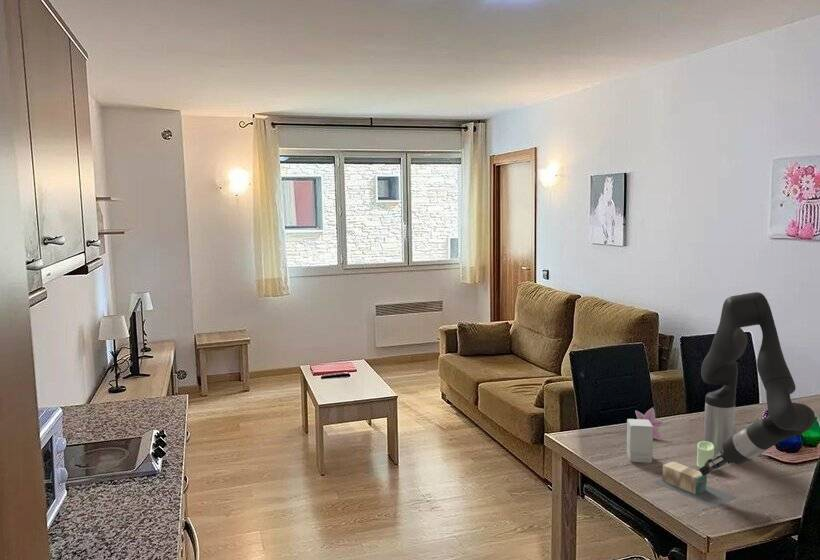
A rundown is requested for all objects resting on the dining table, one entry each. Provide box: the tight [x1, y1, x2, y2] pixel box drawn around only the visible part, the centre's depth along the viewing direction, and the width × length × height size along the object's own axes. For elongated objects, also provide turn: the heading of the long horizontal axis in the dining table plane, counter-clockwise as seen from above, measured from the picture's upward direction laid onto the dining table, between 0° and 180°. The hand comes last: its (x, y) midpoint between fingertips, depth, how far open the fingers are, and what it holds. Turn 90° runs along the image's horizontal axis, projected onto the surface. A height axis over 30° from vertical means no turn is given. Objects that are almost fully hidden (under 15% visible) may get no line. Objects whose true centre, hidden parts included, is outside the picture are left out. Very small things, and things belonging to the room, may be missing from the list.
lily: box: [634, 407, 664, 441], centre depth 225 cm, size 12×12×10 cm
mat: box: [653, 478, 738, 509], centre depth 181 cm, size 20×11×1 cm, turn 32°
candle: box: [696, 440, 714, 469], centre depth 196 cm, size 5×5×8 cm
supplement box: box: [626, 418, 654, 464], centre depth 205 cm, size 7×7×13 cm
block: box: [661, 461, 708, 494], centre depth 183 cm, size 5×5×11 cm
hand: (702, 472), depth 178 cm, fingers closed
